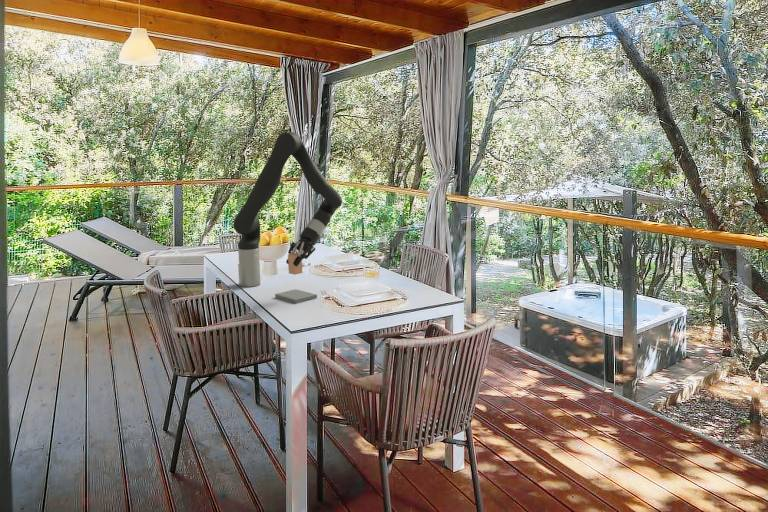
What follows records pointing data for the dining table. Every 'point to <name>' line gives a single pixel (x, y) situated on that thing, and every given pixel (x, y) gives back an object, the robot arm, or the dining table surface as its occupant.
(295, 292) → the slate tile
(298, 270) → the terracotta block
